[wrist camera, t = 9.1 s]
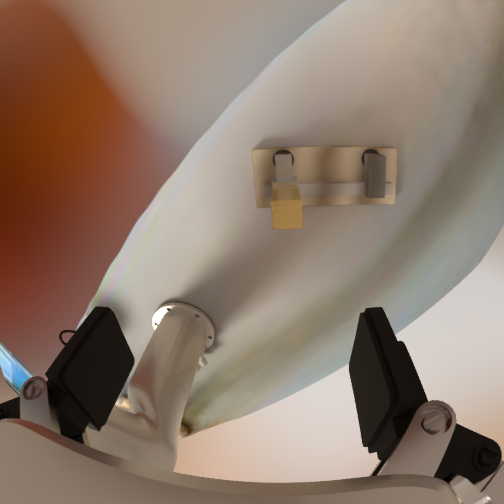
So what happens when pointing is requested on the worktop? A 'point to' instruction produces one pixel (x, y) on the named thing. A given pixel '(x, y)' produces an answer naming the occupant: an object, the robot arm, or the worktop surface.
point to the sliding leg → (286, 195)
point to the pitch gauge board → (331, 174)
